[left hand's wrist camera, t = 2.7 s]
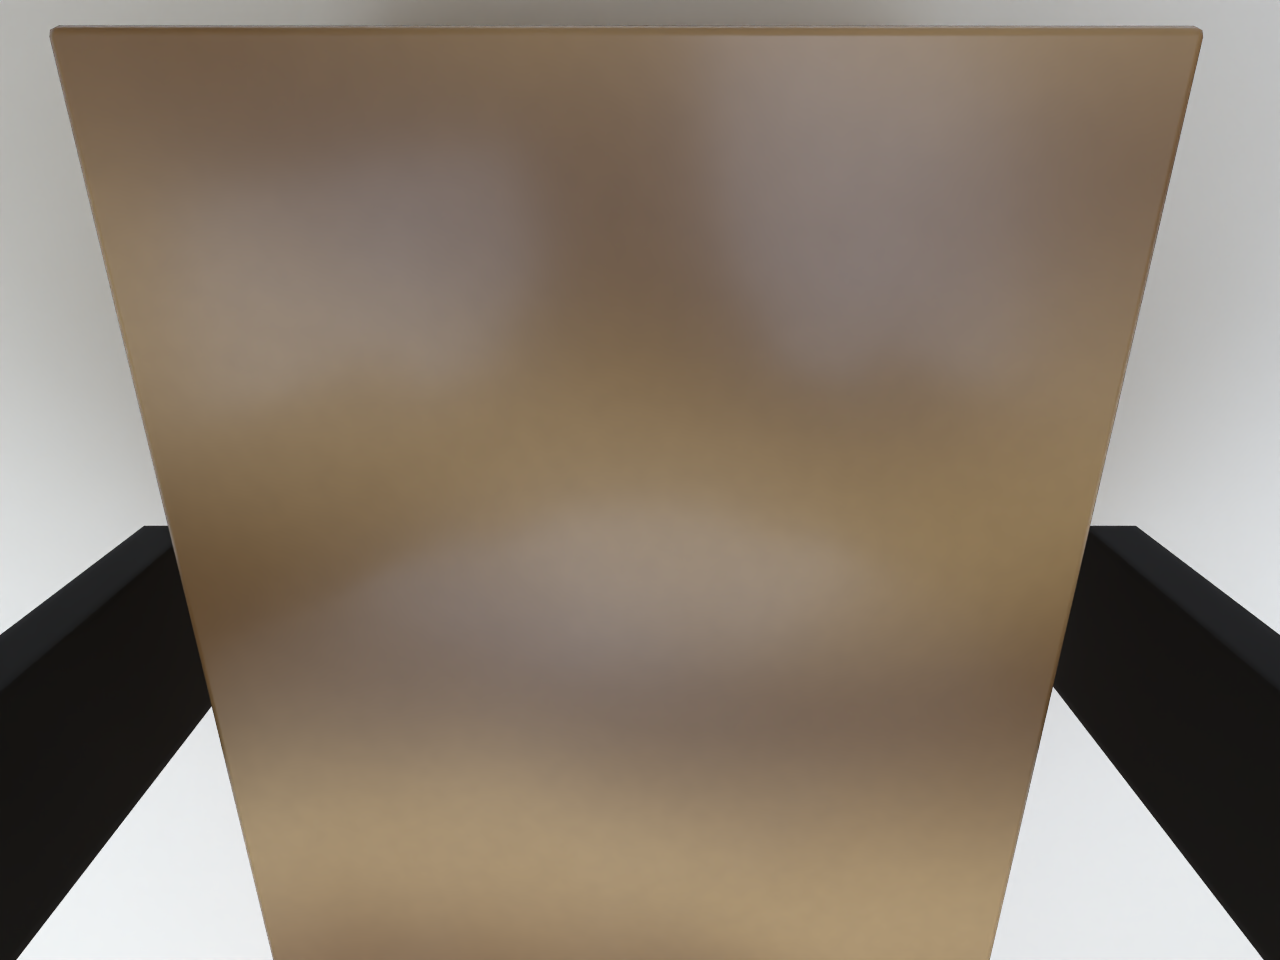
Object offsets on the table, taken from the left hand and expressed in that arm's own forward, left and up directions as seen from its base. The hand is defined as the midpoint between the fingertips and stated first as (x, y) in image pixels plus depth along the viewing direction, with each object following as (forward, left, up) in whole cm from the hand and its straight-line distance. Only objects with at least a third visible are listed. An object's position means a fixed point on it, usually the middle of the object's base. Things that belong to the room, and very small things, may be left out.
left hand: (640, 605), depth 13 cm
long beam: (+30, -13, -3) cm, 33 cm away
